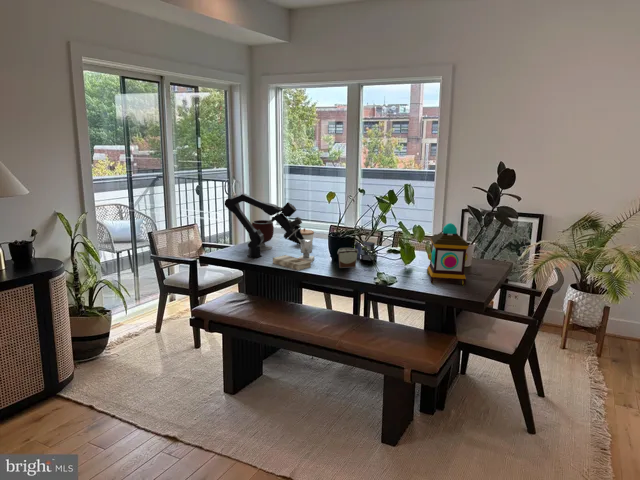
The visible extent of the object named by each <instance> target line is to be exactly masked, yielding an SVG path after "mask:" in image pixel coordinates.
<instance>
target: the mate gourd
mask: <svg viewBox="0 0 640 480" xmlns="http://www.w3.org/2000/svg"><path fill="white" fill-rule="evenodd" d="M251 224H252V226H253V227H254V228H255V229H256V230H259V229H260V231H261V233H262V234H264V235H263V236H264V240H263V242H262V243H261V244H260V245H259V247H260V251H269V250H270V251H271V250H273V246H271V245H267V244H266V243H267V242H269V241H271V239H272V238H273V235H274V221H273V222H272V218H270V219H269V220H268V219H256V220H252V223H251Z"/></svg>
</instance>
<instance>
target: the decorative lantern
mask: <svg viewBox="0 0 640 480" xmlns="http://www.w3.org/2000/svg"><path fill="white" fill-rule="evenodd" d="M430 241H431V248H430V249H431V250H430V253H428V255H427V259H428V260H429V264H428V267H427V269H426V274H427V275H428V276H429V277H430V283H431V284H434V282H435V281H434V280H436V279H437V280H439V279H440V280H452V281H455V280H456V281H461V282H462V283H461V284H462V285H463V284H464V285H463V286H465V285H466V283H467V278H466V275H465V267H466V261H468V257H469V256H468V253H467V250H468V248H469V244H468V242H467V241H466V240H465V239H464V238H463V237H462V235H459V233H458V228H457V227H456V225H455V224H454V223H452V222H450V223H447V224H446V225H444V226H443V228H442V230H441V232H439V233H437V234H433V235H432V236H430Z"/></svg>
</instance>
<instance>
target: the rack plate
mask: <svg viewBox="0 0 640 480" xmlns="http://www.w3.org/2000/svg"><path fill="white" fill-rule="evenodd" d="M272 264H275V265H279V266H282V267H286V268H289V269H293V270H297V271H301V270H304V268H305V269H308V268H311V267H312V263H311V262H310V261H306V260H303V259H299V257H298V258H297V257H294V256H292V255H291V256H290V255H287V254H285V255H284V254H283V255H280V256H275V257H272ZM300 269H301V270H300Z"/></svg>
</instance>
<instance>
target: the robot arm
mask: <svg viewBox="0 0 640 480" xmlns="http://www.w3.org/2000/svg"><path fill="white" fill-rule="evenodd" d="M241 202H244V203H247V204H249V205H250V206H253V207H256V208H258V209H259V210H262V212H264V213H265V214H267V215H268V216H271V219H272V222H273V223H274V222H276V223H277V224H278V225H279V227H280V229H282V230H284V231H285V233H284V234H283V238H284V239H285V240H287V241H290V242H293V243H295V244H298V245H299V244H301V242H300V241H299V239H300V240H303V239H304V238H303V236H302V234H301V230H302V226H301V225H302V224H303V221H302V218H301V217H299V216H296V217H295V218H294V220H291V219H288V218H290V217H291V216H293V215H294V213H295V212H297V209H296V207H295V206H294V205H293V204H291V203H290V202H289V201H287V202H286V204H285V205H284V206H282V207H280V206H278V205H277V204H273V203H270V202H264V201H262V200H260V199H257V198H255V197H253V196H250V195H249V194H247V193H242V194H240V195H238V196H236V197H235V196H234V197H233V196H232V197H228V198H227V199H225V201H224V207H225V208H227V210H229V211H230V212H231V213H233V214H234V215H235V217H236V219H237V220H238V221H239V222H240V224H241V225H242V226H243V228H244V229H245V230H246V232H247V234H248V237H249V240H250V241H249V242H248V243H247V247H248V255H247V257H248V258H252V259H256V258H261V257H263V256H262V255H261V250H260V247H259V245H260V244H261V243H262V242H263V240H264V236H263V235H264V234H262V233H261V231H260V229H259V230H256V229H255V228H254V227H253V226H252V223H251V221H250V220H249V219H248V217H247V216H246V214H244V211H243V210H242V209H241V207H240V206H241V205H240V203H241ZM287 217H288V218H287ZM298 238H299V239H298Z"/></svg>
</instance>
